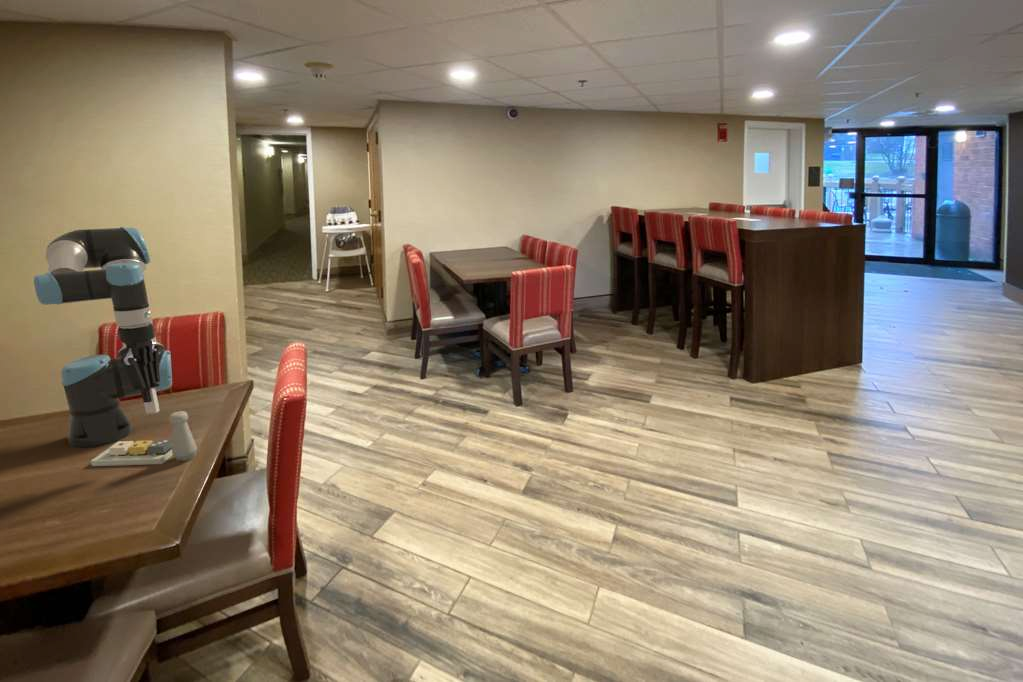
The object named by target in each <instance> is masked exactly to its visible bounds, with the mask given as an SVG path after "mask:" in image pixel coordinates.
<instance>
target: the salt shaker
mask: <svg viewBox="0 0 1023 682" xmlns="http://www.w3.org/2000/svg"><path fill="white" fill-rule="evenodd" d="M168 420H169V422H170V424H172V439H171V442H172V453H173V455H172V456H173V457H174V458H175V459H176V461H177V462H188V461H191V460H192V459H194V458H195V457H196V454H197V450H198V446H197V444H196V441H195V439H194V437H193V434H192V432H191V429H190V427H189V424H188V420H189V414H188V413H187V412H186V411H183V410H180V411H174V412H172V413H171V414H169V416H168Z"/></svg>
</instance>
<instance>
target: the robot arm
mask: <svg viewBox="0 0 1023 682" xmlns="http://www.w3.org/2000/svg"><path fill="white" fill-rule="evenodd" d="M45 259H46V262H47V263H48V269H47V270H48V271H47V272H46V273H42V274H36V275H35V276H34V277H33V285H34V286H33V287H34V290H35V294H36V298H37V300H38V302H39V303H40V304H42V305H44V306H45V305H61V304H71V303H81V302H87V301H98V300H106V299H107V300H109V299H111V302H112V306H113V314H114V319H115V324H116V326H118V329H117V332H118V337H119V342H120V343H122V347H121V348H120V349H119V350H118V353H117V354H118V357H117V358H112V359H111V357H110V356H109V355H107V354H96V355H91V356H87V357H83V358H80V359H76V360H73V361H72V362H69V363H68V364H66V365H65V366H63V368H62V369H61V371H60V375H61V381H62V383H61V385H62V386H63V388H64V393H65V397H66V401H67V404H68V410H69V413H70V421H69V426H68V428H69V429H68V433H67V438H68V443H69V445H71V446H72V447H77V448H88V447H89V448H90V447H95V446H100V445H105V444H110V443H112V442H115V441H118V440H121V439H123V438H125V437H126V436H128V435H129V434H131V432H132V431H133V425H132V421H131V420H130V419H129V417H128V416H127V414H126V413H125V411H124V410H123V408H122V407H121V405H120V400H119V399H123V398H129V397H134V396H139V395H141V396H142V397H141V398H142V401H143V405H144V409H145V414H157V413H159V412H160V411H161V410H160V406H159V399H158V395H157V392H160V391H164V390H168V389H170V388H171V387H172V385H173V375H172V374H173V373H172V357H171V355H172V354H171V351H170V350H167V349H166V350H165V349H164V345H163V344H162V343H160V342H158V341H157V338H156V332H155V328H154V324H153V318H152V311H151V310H150V304H149V299H148V294H147V293H148V292H147V288H146V283H145V274H144V272H145V271H146V270H147V264H150V262H151V259H150V254H149V250H148V248H147V244H146V242H145V240H144V236H143V234H142V232H141V231H140V230H139V229H138V228H136V227H123V226H120V227H116V228H115V227H114V228H93V229H78V230H72V231H69V232H66V233H64V234H61V235H60V236H58V237H56V238H55V239H53V240H52V241H51V242H50V243H49V244H48V245H47V248H46V251H45ZM93 268H95V270H84V269H93ZM96 268H97V269H96ZM98 268H101V269H98Z"/></svg>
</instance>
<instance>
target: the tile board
mask: <svg viewBox="0 0 1023 682" xmlns="http://www.w3.org/2000/svg"><path fill="white" fill-rule="evenodd" d="M109 448H110V447H108V448H107V449H105V450H104V451H102V452H101V453H99V454H98V455H97V456H96V457H94V458H93V459H92V460H90V463H91V467H103V466H104V467H105V466H106V467H107V466H108V467H109V466H111V467H113V466H132V465H133V466H135V465H137V466H139V465H141V466H142V465H163V464H164V463H165V462H166V461H167V460H168V459H169V458H170V457H172V456H174V455H173V453H172V447H171V448H170V449H169V450H168V451H166V452H165V453H164V454H149V452H147V453H146V455H145V454H142V455H139V454H129V452H128V453H127V454H126V455H110V452H109Z"/></svg>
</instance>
